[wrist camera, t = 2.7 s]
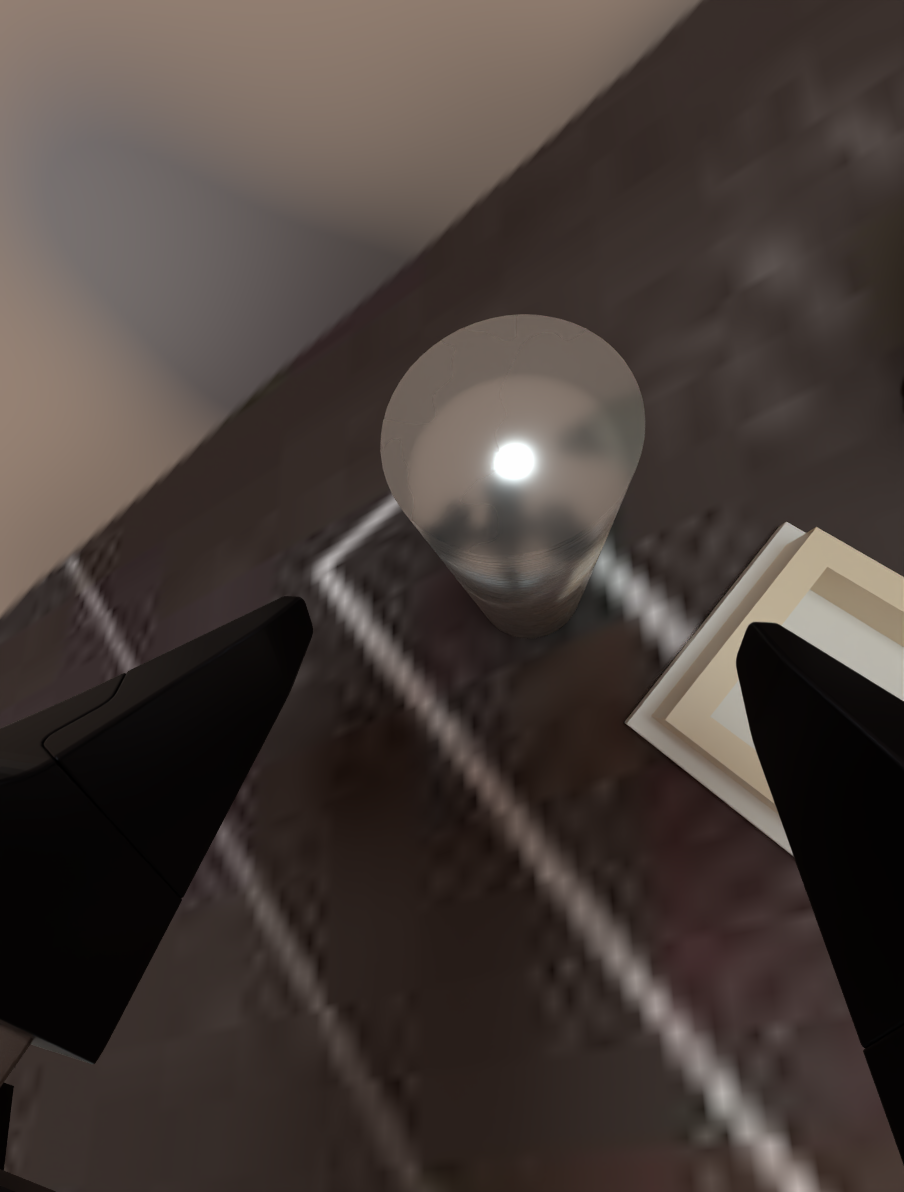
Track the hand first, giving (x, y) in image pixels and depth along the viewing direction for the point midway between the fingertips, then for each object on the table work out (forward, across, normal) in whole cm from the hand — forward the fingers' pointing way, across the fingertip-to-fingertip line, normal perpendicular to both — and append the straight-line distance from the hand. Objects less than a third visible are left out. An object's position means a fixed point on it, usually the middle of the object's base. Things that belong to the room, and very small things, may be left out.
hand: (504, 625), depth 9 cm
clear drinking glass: (+9, 0, +5) cm, 11 cm away
